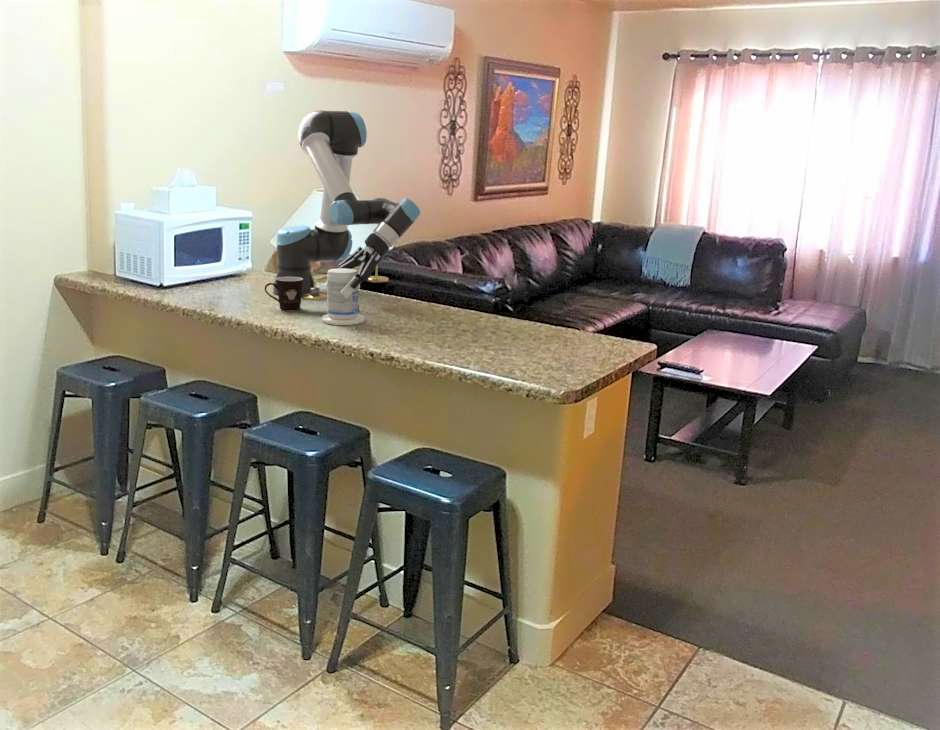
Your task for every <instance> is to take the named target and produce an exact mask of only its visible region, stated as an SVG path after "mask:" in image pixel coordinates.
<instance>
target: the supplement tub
mask: <svg viewBox="0 0 940 730" xmlns="http://www.w3.org/2000/svg"><path fill="white" fill-rule="evenodd" d="M357 273H358V271H357V270H355V269H346V268H338V267H337V268H330V269H328V270H327V273H326V275H327V280H326V282H327V287H326V288H327V289H326V290H327V291H326V292H327V293H326V295H327V299H326V300H327V314H328V316H329V317H330V318H332V319H340V320H346V319H354V318H356V317H357V316H358V315H359V311H358V305H359V286H358V287H357V288H356V289H355V290H354V291H353V292H352V293H351V294H350V296H349V297H348V298H346V297H345V296H344V295H343V294H342V293H341V291H342V289H343V288H344V287H345V286H346V285H347V284H348V283H349V282H350V280H351V279H352V278H353V277H354V276H355V275H356V274H357ZM355 277H356V276H355ZM356 278H357V277H356Z"/></svg>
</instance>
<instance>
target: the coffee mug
mask: <svg viewBox="0 0 940 730" xmlns="http://www.w3.org/2000/svg"><path fill="white" fill-rule="evenodd" d="M275 278H276V277H275ZM276 282H277V284H274V282H269V283H267V284H265V285H264V291H265V293H266V294H267V295H268V296H269V297H270V298H271V299H273V300H276V301H277V302H278V304H279V309H281V310H280V311H283V310H285V311H284V312H295V311H296V310H297V311H300V309H301V303H302V296H301V294H302V284H303V278H300V277H279V278H276ZM270 285H272V286H273V285H274V286H275V287H276V289H277V290H278V294H277V295H278V298H276V297H275V296H273V295H271V294H270V293H269V291H268V290H267V288H268V286H270Z"/></svg>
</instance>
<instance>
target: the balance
mask: <svg viewBox="0 0 940 730" xmlns="http://www.w3.org/2000/svg"><path fill="white" fill-rule="evenodd" d="M360 266H361V265H358V266H356V267H354V268H353V269H355V270H357V271H359V269H360ZM378 269H379V265H378V264H377V266H376V267H375V269H374V270H375V271H374V275H371V276H370V278H369V279H368V281H366V282H369V283H387V282H389V277H388V276H382V275H379V274H378ZM313 279H314V287H312V288H310V293H309V294H304V295H302V296H301V299H302V300H304V301H305V300H306V301H324V300H327V293H326V294H325V293H322V292H321V293H320V291H321V290H320V287H317V283H321V282H324V281H327V274H326V275H321V276H318V277H315V278H313ZM358 312H360V304H358Z"/></svg>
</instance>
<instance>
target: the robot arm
mask: <svg viewBox="0 0 940 730" xmlns="http://www.w3.org/2000/svg"><path fill="white" fill-rule="evenodd" d="M297 133H298V135H297V137H298V142H299V146H300V148H301V149H302V151H303V153H305V154H306V155H308V157H309V159H310V160H311V163H312V165H313V167H314V168H315V171H316V173H317V175H318V177H319V179H320V180H321V184H322V185H323V190H322V191H323V193H322V200H321V207H320V208H321V210H320V216H319V219H318V220H317V221H315V223H314V228H313V229H311V227H310V226H308V225H292V226H287V227H283V228H281V229H279V230H278V232H277V235H276V251H277V253H276V254H277V256H276V257H277V273H276V276H275V278H274V282H273V283H274V284H277V282H276V278H279V277H300V278H303V284H302V294H301V297H302V295H304V294H309V293H310V288H312V287H314V279H315V278H314V277H313V274H312V265H311V264H312V263H323V262H324V263H325V262H338V261H341V262H339V264H337V266H336V267H337V268H346V269H353V268H354V267H358V266H360V269H359V271H358V273H357V274H356V275H355V276H356V277H357V278H356V277H355V276H354V277H353V278H352V279H351V280H350V282H349V283H348V284H347V285H346V286H345V287H344V288H343V289H342V291H341V293H342V294H343V295H344V296H345V297H346V298H348V297H349V296H350V294H351V293H352V292H353V291H354V290H355V289H356V288H357V287H358V288H359V286H360V285H361V284H362V283H364V282H367V281H368V279H369V278H370V276H372V274H373V272H375V271H374V270H375V267H376V266H377V265H378V264H379V262H381V260H382V258H383V257H385V255H387V253H388V252H389V250H390V248H392V247H393V246H394V245H395V244H397V242H398V240H399V239H400V238H401V237H403V235H404V234H405V233H406V232H407V231H408V229H410V227H411V226H412V225H413V224H415V222H416V220H417V219H418V218H419V216H420V215H421V209H420V208H419V206H418V205H417V204H416V203H415V202H414V201H412V199H410V198H408V197H403V198H401V199H400V200H398V203H397V202H395V201H392V200H389V199H387V198H385V197H376V198H373V199H371V200H370V199H369V200H368V199H367V200H365V199H361V200H360V199H359V200H358V198H357V196H356V194H355V193H354V191H353V189H352V187H351V185H350V181H351V172H352V165H353V164H352V163H353V158H354V157H356V156H357V155H358V151H359V149H360V148H363V147H364V146H365V144H366V143H367V137H368V135H367V133H368V132H367V127H366V124H365V120H364V118H363V117H362V116H361V115H360V113H358V112H355V111H354V112H353V111H348V110H343V111H342V110H321V109H320V110H314V111H311V112H310V113H308V114H306V115H305V116H304V117H303V119H302V120H301V122H300V124H299V127H298V132H297ZM354 225H357V226H359V225H377V226H376V227H375V228H374V229H373V231H372V233H370V234H369V235H368V236H367V238H366V239H365V240H364V244H365V246H364V248H363V247H362V246H359V247H357V248H356V249H355V250H354V251H353V252H352V253H351V251H352V248H353V235H352V233H351V231H350V230H349V228H348V226H354ZM350 253H351V254H350ZM324 285H325V286H326V288H327V281H326V282H325V283H324ZM272 293H273V294H275V295H278V290H277V289H276V287H275V286H274V285H272Z"/></svg>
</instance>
